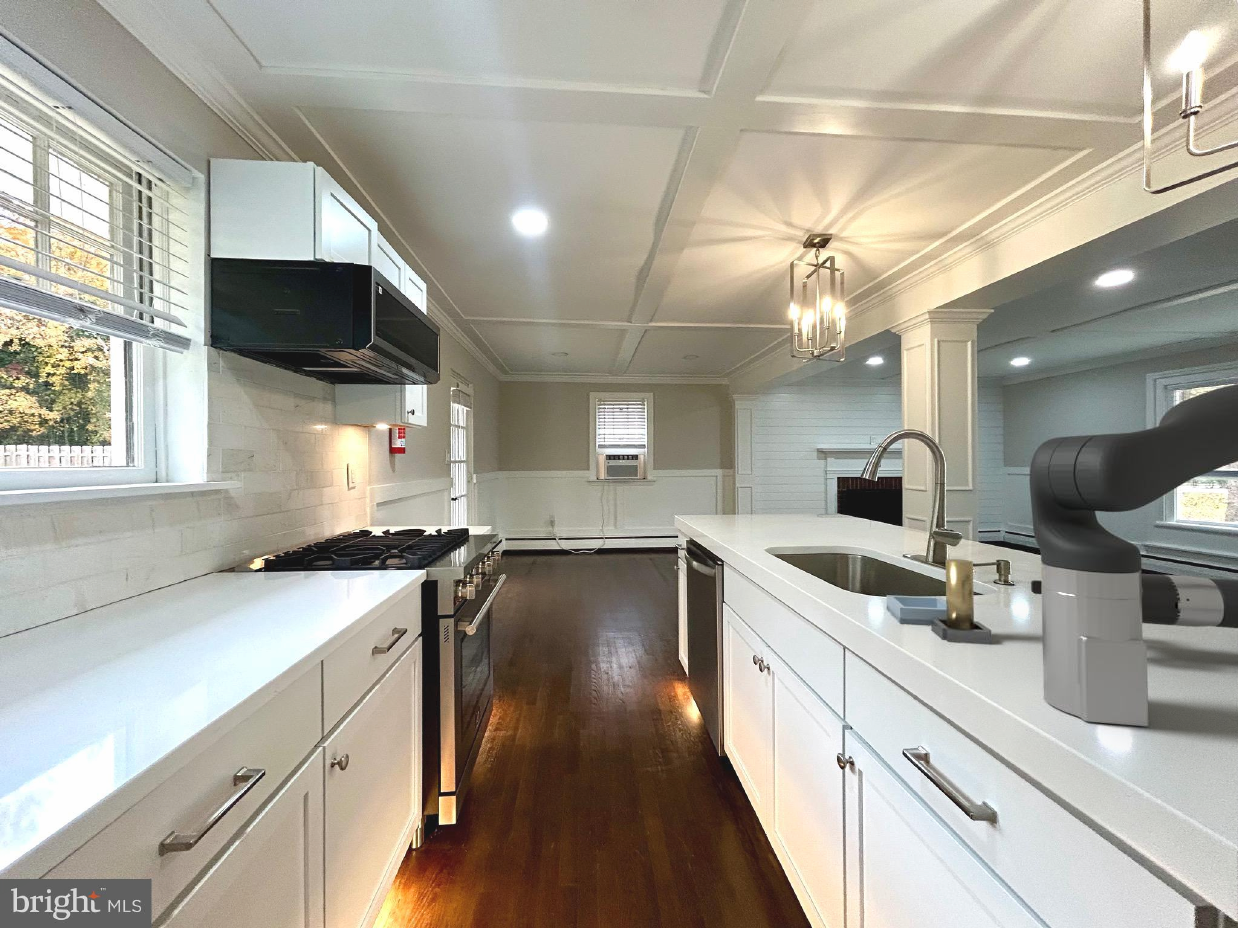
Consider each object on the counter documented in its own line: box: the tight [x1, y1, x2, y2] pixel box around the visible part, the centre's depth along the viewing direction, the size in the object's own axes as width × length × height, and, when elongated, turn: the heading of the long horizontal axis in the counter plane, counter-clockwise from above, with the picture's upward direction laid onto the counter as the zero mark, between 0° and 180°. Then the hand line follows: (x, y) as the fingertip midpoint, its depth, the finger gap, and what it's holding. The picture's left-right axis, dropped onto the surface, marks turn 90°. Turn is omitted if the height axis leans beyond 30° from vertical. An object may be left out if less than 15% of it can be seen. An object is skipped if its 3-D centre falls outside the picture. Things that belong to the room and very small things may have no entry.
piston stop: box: [945, 558, 975, 629], centre depth 93 cm, size 4×4×13 cm
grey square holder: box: [930, 618, 992, 645], centre depth 93 cm, size 7×7×2 cm
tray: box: [886, 594, 947, 626], centre depth 104 cm, size 10×10×3 cm
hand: (1039, 592), depth 89 cm, fingers open, 8 cm apart
